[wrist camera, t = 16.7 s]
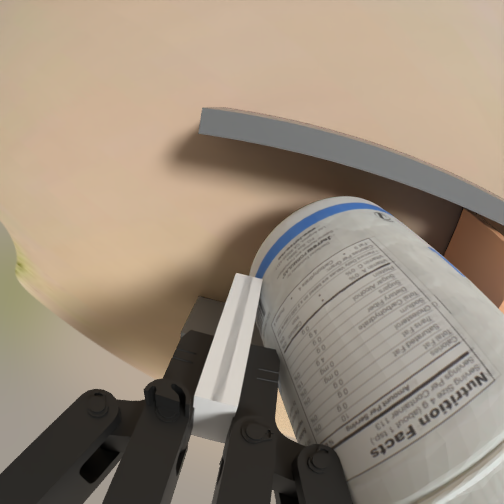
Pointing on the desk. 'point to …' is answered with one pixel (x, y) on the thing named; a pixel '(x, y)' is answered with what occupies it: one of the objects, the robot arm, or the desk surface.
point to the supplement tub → (384, 355)
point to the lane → (342, 152)
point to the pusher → (479, 255)
